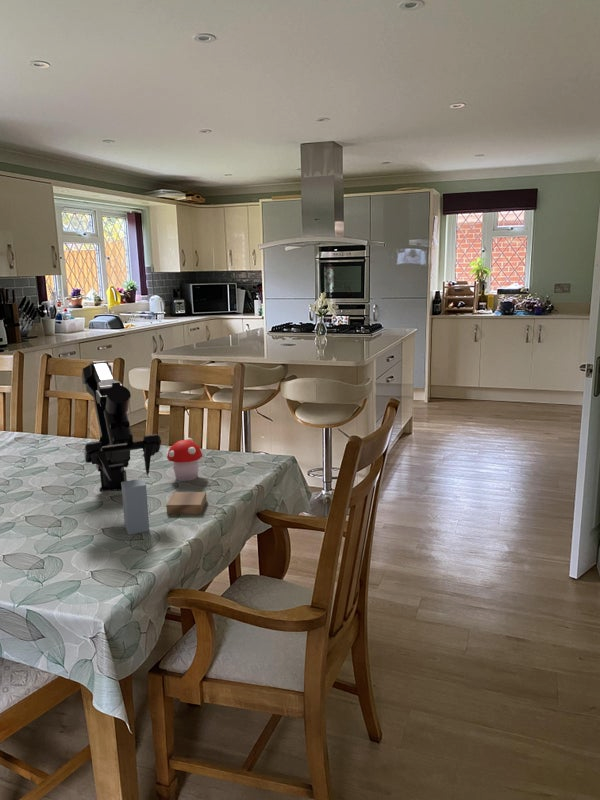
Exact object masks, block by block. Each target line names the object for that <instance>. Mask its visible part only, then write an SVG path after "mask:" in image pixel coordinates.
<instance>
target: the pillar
mask: <svg viewBox="0 0 600 800" xmlns="http://www.w3.org/2000/svg"><path fill="white" fill-rule="evenodd" d="M121 486H122V490H121V496H122V509H123V519H124V528H125V530H126V532H127V534H128V535H129V536H130V535H135V534H139V533H145V532H149V531H150V520H149V505H148V493H147V492H148V491H147V484H146V483H145V481H144V480H143V479H142V478H137V479H132V480H127V481H125V482H121Z"/></svg>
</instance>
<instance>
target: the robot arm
mask: <svg viewBox="0 0 600 800" xmlns="http://www.w3.org/2000/svg"><path fill="white" fill-rule="evenodd" d="M112 369H113V368H112V365H110V364H109V361H108V360H92V361H90V362H89V365H86V366H85V367H83V368H82V371H81V380H82V384H83V385H84V386H85V390H86V392H87V393H88V394H89V395H90V396H91V397H92V398H93V403H94V408H95V414H96V420H97V425H98V430H99V436H100V438H99V441H92V442H87V443H85V444H84V453H83V454H84V460H85V463H88V464H89V463H91V464H92V465H95V468H96V470H97V471H98V472H99V474H100V475H99V476H100V477H99V478H100V483H101V484H100V485H101V486H100V488H98V489H99V491H101V492H102V491H122V486H121V482H125V481H128V480H127V479H128V477H127V470H126V469H125V468H128V467H129V463H130V460H131V451H135V450H142V452H143V456H142V457H143V458H144V459H143V460H144V468H145V472H146V475H149V474H150V468H151V467H150V466H151V457H152V456H155V454H157V453H159V452H160V449H161V445H162V439H161V436H160V435H159V434H157V433H154V434H153V433H152V434H146V435H143V440H141V441H140V440H138V441H134V437H133V436H134V435H133V434H132V430H131V423H130V421H129V415H128V412H129V406H130V399H131V397H132V394H131V392H130V390H129V389H128V388H127V387H126V386H124V385H123V383H122V382H121V381H119V380H115V379H114V376H113V371H112Z"/></svg>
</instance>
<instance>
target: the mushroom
mask: <svg viewBox="0 0 600 800" xmlns="http://www.w3.org/2000/svg"><path fill="white" fill-rule="evenodd" d="M193 440H194V439H193V438H191V437H187V438H186V439H182V440H178V441H176V442H175V443H173V444H172V445H171V446H170V447H169V450H168V453H167V456H166V459H167V460H168V461H169V462H173V466H172V467H173V472H174V475H175V479H176V481H177V480H178V481H184V482H185V481H193V480H195V479H198V475H199V474H198V473H199V467H200V466H199V464H200V463H199V460H200V459H201V458H202V457H203V453H202V449H201V448H200V445H199V444H197V443H196V442H194V441H193Z"/></svg>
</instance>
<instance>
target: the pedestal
mask: <svg viewBox="0 0 600 800" xmlns="http://www.w3.org/2000/svg"><path fill="white" fill-rule="evenodd" d="M207 501H208V500H207V491H192V492H191V491H183V492H182V491H180V492H178V491H177V492H176V491H175V492H173V493H172V495H171V496H170V498H169V500H168V501H167V503H166V514H167V515H199V514H200V515H202V512H203V511H204V508H205V505H206V503H207Z"/></svg>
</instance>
